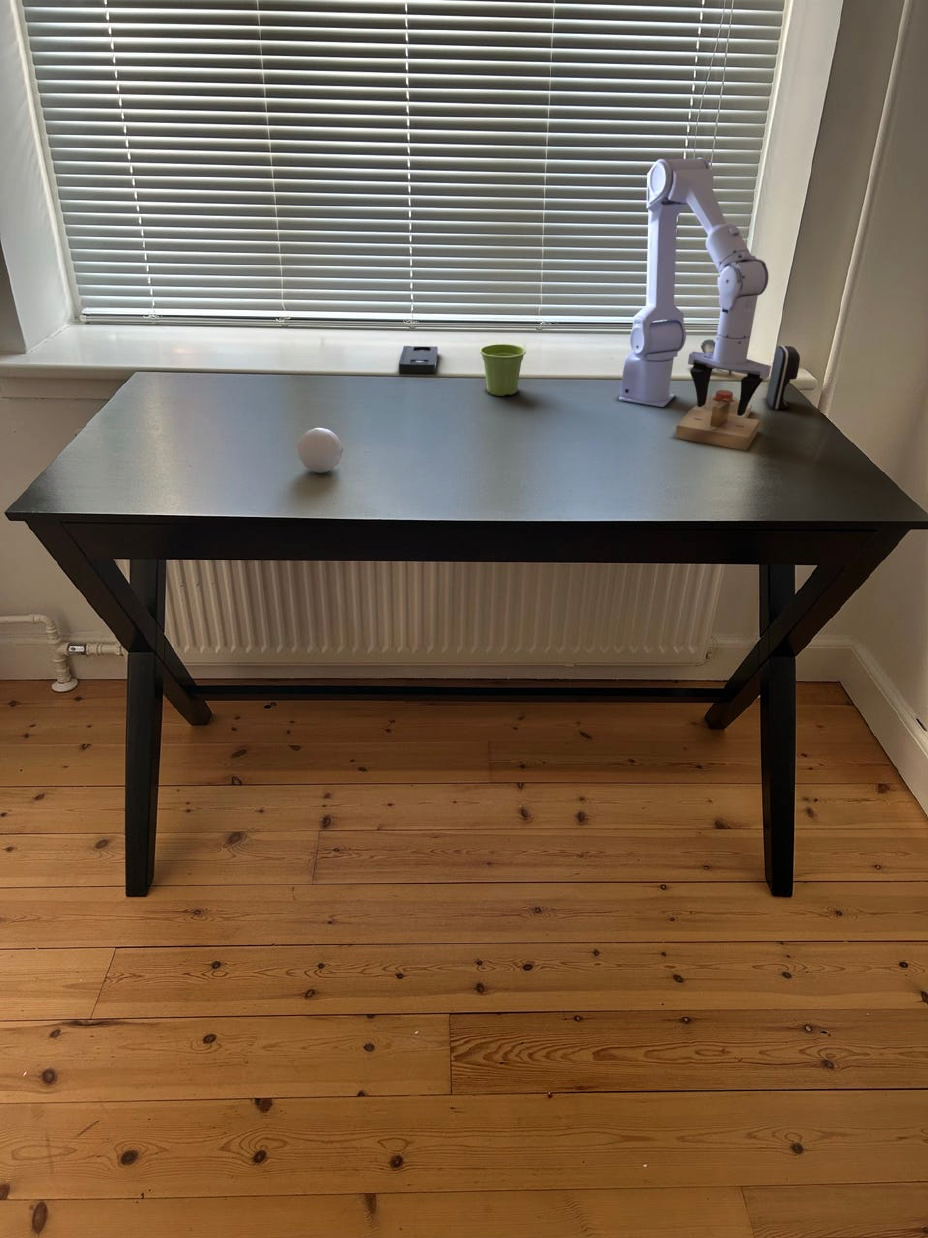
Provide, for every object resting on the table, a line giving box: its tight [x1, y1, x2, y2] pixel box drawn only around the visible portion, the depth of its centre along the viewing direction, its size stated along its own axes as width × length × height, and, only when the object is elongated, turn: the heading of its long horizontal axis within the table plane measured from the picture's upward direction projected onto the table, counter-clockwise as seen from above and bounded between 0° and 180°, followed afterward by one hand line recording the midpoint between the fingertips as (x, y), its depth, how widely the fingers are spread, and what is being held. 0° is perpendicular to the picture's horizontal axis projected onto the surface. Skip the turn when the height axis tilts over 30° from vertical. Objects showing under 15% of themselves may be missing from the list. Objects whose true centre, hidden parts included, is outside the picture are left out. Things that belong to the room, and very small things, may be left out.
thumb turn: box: [710, 398, 731, 427], centre depth 161 cm, size 5×1×4 cm, turn 144°
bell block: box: [692, 394, 753, 418], centre depth 173 cm, size 10×8×3 cm
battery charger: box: [765, 345, 801, 410], centre depth 175 cm, size 7×4×11 cm, turn 174°
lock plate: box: [674, 408, 761, 451], centre depth 163 cm, size 13×10×3 cm
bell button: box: [715, 389, 734, 402], centre depth 172 cm, size 3×3×2 cm
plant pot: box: [479, 343, 527, 397], centre depth 182 cm, size 9×9×9 cm
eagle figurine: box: [700, 339, 733, 376], centre depth 195 cm, size 8×7×9 cm
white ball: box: [297, 427, 344, 474], centre depth 148 cm, size 10×7×7 cm
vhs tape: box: [398, 345, 439, 374], centre depth 200 cm, size 14×8×2 cm, turn 179°
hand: (720, 409), depth 161 cm, fingers open, 7 cm apart
